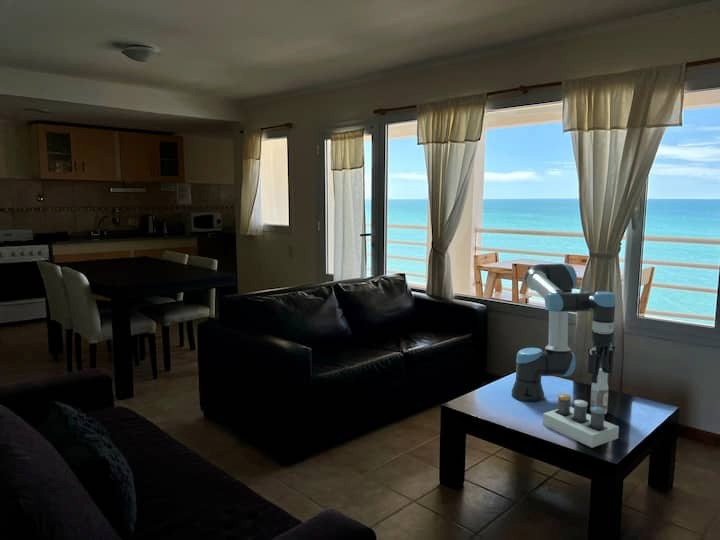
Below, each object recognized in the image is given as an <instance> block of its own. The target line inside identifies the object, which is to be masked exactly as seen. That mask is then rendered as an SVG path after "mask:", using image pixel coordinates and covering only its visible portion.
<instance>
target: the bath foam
mask: <svg viewBox="0 0 720 540" xmlns="http://www.w3.org/2000/svg"><path fill="white" fill-rule="evenodd" d="M600 372H603V371H602V367H601V368H600V369H599V374H598V375H600ZM590 389H591V390H590V405H589V411H590V412H591V407H601V408H604V409H605V414H604V415H606V414H607V413H608V403H609V384H608V382H607V389H606V390H605V389H602V388H600V381H599V392H597V391H594V390H592V385H591V387H590Z"/></svg>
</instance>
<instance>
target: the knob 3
mask: <svg viewBox="0 0 720 540" xmlns="http://www.w3.org/2000/svg"><path fill="white" fill-rule="evenodd" d="M590 415H591V424H590V428H592V429H594V430H596V431H602V430H604V421H605V415H606V414H605V409H604V408H601V407H591V411H590Z"/></svg>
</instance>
